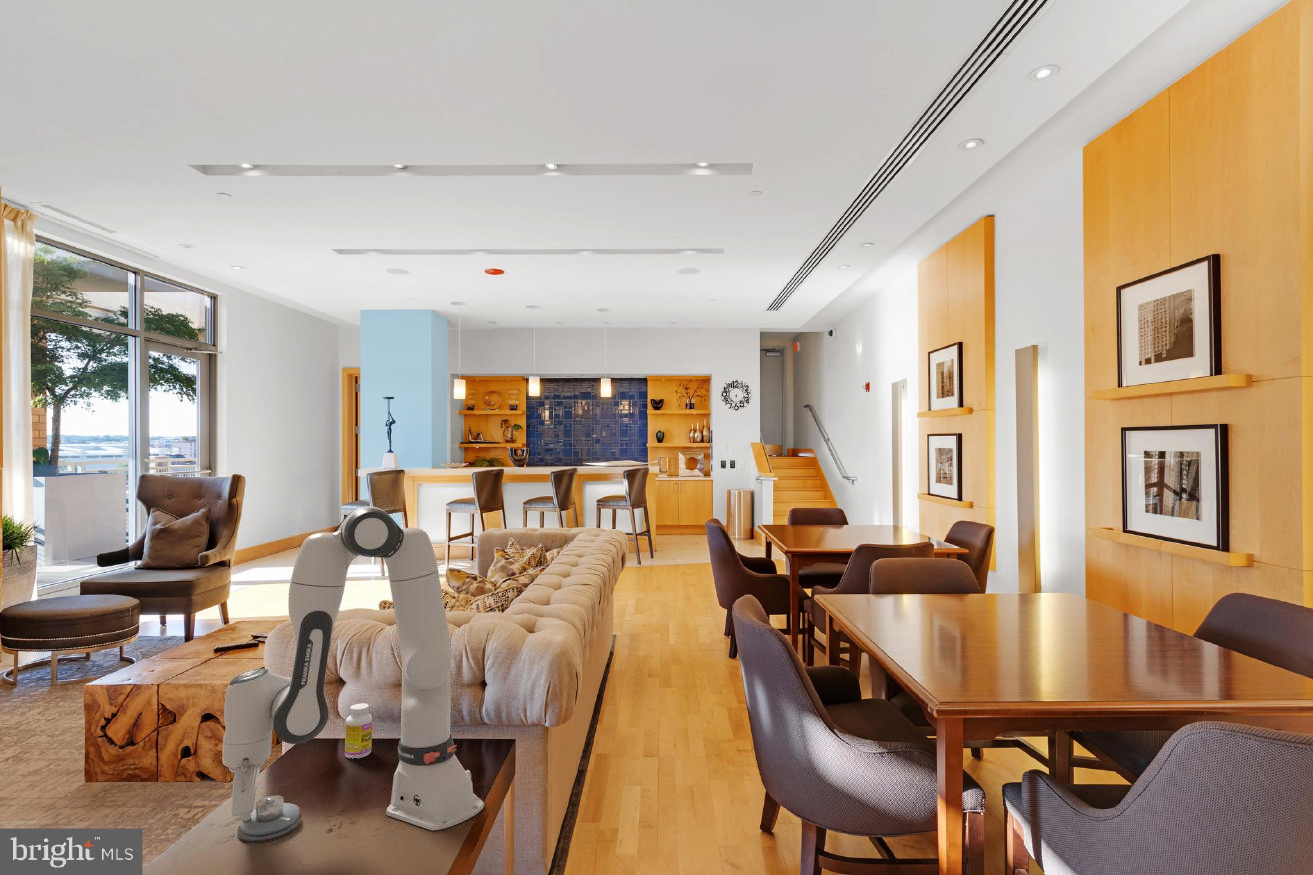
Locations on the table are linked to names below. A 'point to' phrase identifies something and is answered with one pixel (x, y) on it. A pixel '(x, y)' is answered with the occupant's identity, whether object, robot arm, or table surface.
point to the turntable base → (268, 837)
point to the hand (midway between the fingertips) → (245, 817)
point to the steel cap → (269, 809)
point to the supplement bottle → (358, 732)
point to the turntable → (270, 827)
